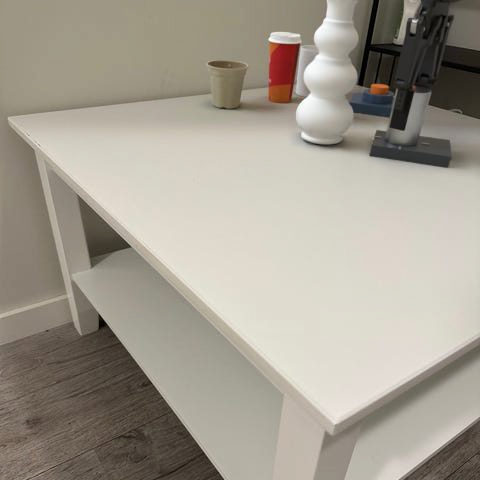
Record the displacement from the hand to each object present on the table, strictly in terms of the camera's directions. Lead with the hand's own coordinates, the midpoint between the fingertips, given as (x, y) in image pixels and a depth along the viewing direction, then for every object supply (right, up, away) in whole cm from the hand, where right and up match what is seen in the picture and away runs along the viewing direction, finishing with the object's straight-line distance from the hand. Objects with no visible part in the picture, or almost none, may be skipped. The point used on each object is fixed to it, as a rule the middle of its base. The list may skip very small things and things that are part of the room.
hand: (405, 124), depth 88 cm
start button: (+2, +17, +23) cm, 29 cm away
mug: (-10, +22, +35) cm, 43 cm away
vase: (-14, -1, +6) cm, 16 cm away
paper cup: (-21, +18, +29) cm, 40 cm away
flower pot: (-34, +14, +23) cm, 43 cm away
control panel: (+2, -4, +3) cm, 5 cm away
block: (+2, +14, +26) cm, 29 cm away
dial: (0, -2, +2) cm, 3 cm away
